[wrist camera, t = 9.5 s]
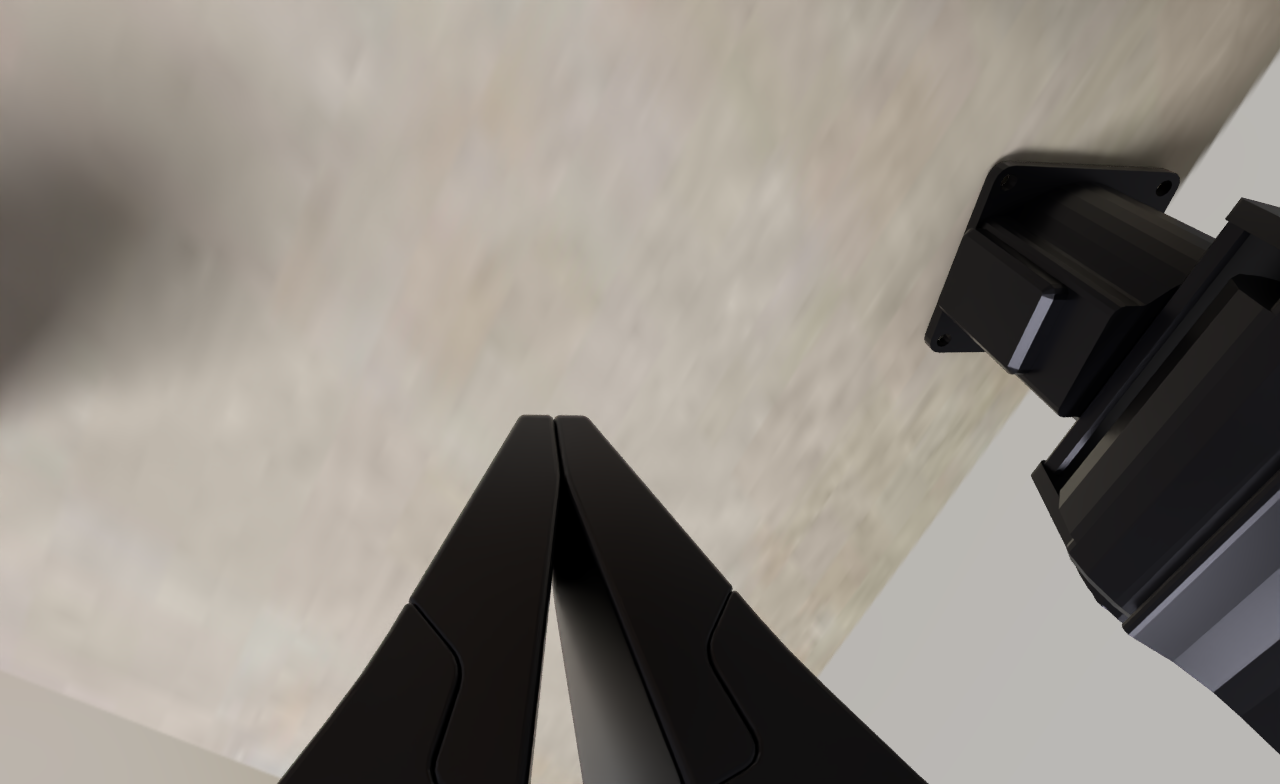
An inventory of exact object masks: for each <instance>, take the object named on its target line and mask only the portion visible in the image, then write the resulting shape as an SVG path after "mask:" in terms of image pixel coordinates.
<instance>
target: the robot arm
mask: <svg viewBox="0 0 1280 784" xmlns="http://www.w3.org/2000/svg"><path fill="white" fill-rule="evenodd" d="M1008 174H1009V178H1008V180H1007V181H1006V183H1004V184H1003V185H1001V182H1002V180H1003V179H1004V177H1006V176H1007V175H1008ZM1179 183H1180V177H1179V176H1178V174H1176V173H1174V172H1171V171H1169V170H1167V169H1164V168H1147V167H1126V166H1104V165H1083V164H1061V163H1040V162H1018V161H1005V162H1001V163H999V164H997V165H995V166H994V167H993V168H992V169H991V170H990V172H989V173H988V175H987V177H986V179H985V182H984V185H983V187H982V190H981V192H980V195H979V197H978V200H977V203H976V205H975V208H974V210H973V213H972V215H971V218H970V220H969V223H968V226H967V228H966V231H965V233H964V236H963V238H962V241H961V243H960V246H959V248H958V251H957V253H956V256H955V259H954V261H953V264H952V266H951V269H950V271H949V274H948V277H947V279H946V282H945V284H944V287H943V289H942V292H941V294H940V297H939V300H938V303H937V305H936V308H935V310H934V313H933V315H932V318H931V320H930V323H929V326H928V328H927V331H926V333H925V338H924V340H925V343H926V344H927V345H928V346H929V347H930V348H931V349H932V350H933V351H934V352H939V353H945V352H986V353H988V354H989V355H990V356H991V357H992V358H993V359H994V360H995V361H996V362H997V363H998V364H999V365H1000V366H1001V367H1002V368H1003V369H1004V370H1005V371H1006V372H1007V373H1009V374H1015V375H1016V376H1017V377H1018V378H1019V379H1020V380H1022V381H1023V382H1024V383H1025V384H1026V385H1027V386H1028V387H1029V388H1030V389H1031V390H1032V391H1033V392H1034V393H1035V394H1036V395H1037V396H1039V397H1040V398H1041V399H1042V400H1043V401H1044V402H1045V403H1046V404H1047V405H1048V406H1049V407H1050V408H1051V409H1052V410H1053V411H1054V412H1055V413H1056V414H1058V415H1059V416H1060V417H1073V418H1074V419H1075V420H1076V422H1075V423H1074V425H1073V426H1072V427H1071V429H1070V430H1069V431H1068V433H1067V434H1066V436H1065V437H1064V438H1063V439H1062V440H1061V442H1060V443H1059V444H1058V446H1057V447H1056V448H1055V450H1054V451H1053V452H1052V454H1051V455H1050V456H1049V458H1048V459H1047V460H1043V461H1041V462H1040V464H1039V465H1038V466H1037V468H1036V469H1035V470H1034V472H1033V473H1032V474H1031V477H1032V479H1033V481H1034V483H1035V485H1036V487H1037V489H1038V491H1039V493H1040V495H1041V497H1042V499H1043V501H1044V503H1045V505H1046V507H1047V509H1048V511H1049V513H1050V516H1051V517H1052V520H1053V522H1054V524H1055V526H1056V527H1057V530H1058V532H1059V534H1060V535H1061V538H1062V540H1063V542H1064V544H1065V546H1066V548H1067V551H1068V554H1069V557H1070V559H1071V561H1072V562H1073V563H1074V565H1075V566H1076V568H1077V570H1078V572H1079V574H1080V576H1081V577H1082V579H1083V581H1084V582H1085V584H1086V586H1087V587H1088V589H1089V590H1090V591H1091V592H1092V594H1093V596H1094V598H1095V599H1096V601H1097V602H1098V603H1099V604H1100V605H1101V606H1102V607H1104V608H1105V609H1107V610H1108V611H1109V612H1110V613H1112V614H1113V615H1114V616H1115V617H1116V618H1117V619H1118V620H1119V621H1121V622H1122V623H1123V624H1122V627H1123V629H1124V631H1125V632H1126V633H1128V635H1130V636H1131V637H1133V638H1135V639H1136V640H1138V641H1139V642H1141V643H1143V644H1144V645H1146V646H1148V647H1149V648H1151V649H1153V650H1154V651H1156V652H1158V653H1159V654H1161V655H1162V656H1164V657H1166V658H1168V659H1169V660H1171V661H1172V662H1174V663H1175V664H1176V665H1178V666H1179V667H1180V668H1182V669H1183V670H1184V671H1186V672H1187V673H1188V674H1190V675H1191V676H1192V677H1194V678H1195V679H1196V680H1197V681H1199V682H1200V683H1202V684H1203V685H1204V686H1205V687H1207V688H1208V689H1209V690H1211V691H1212V692H1213V693H1214V694H1216V695H1217V696H1218V697H1219V698H1220V699H1221V700H1222V701H1223V702H1224V703H1226V704H1227V705H1228V706H1229V707H1230V708H1231V709H1232V710H1234V711H1235V712H1236V713H1237V714H1238V715H1239V716H1240V717H1241V718H1242V719H1243V720H1244V721H1245V722H1246V723H1247V724H1249V725H1250V726H1251V727H1252V728H1253V729H1254V730H1255V731H1256V732H1257V733H1258V734H1259V735H1260V736H1261V737H1262V738H1263V739H1264V740H1265V741H1266V742H1267V743H1268V744H1269V745H1271V746H1272V747H1273V748H1274V749H1275V750H1276V751H1277V752H1278V753H1279V754H1280V207H1276V206H1272V205H1269V204H1265V203H1261V202H1257V201H1254V200H1250V199H1246V198H1241V199H1240V200H1239V201H1238V203H1237V204H1236V205H1235V207H1234V208H1233V209H1232V211H1231V212H1230V213H1229V215H1228V216H1227V217H1226V220H1227V221H1229V222H1228V223H1227V224H1226V226H1225V227H1224V228H1223V230H1222V231H1221V232H1220V234H1219V235H1218V236H1217V238H1216V239H1215V238H1213V237H1211V236H1209V235H1207V234H1205V233H1203V232H1201V231H1199V230H1197V229H1195V228H1193V227H1191V226H1189V225H1187V224H1184V223H1183V222H1180V221H1178V220H1177V219H1174V218H1172V217H1170V216H1168V215H1166V214H1164V212H1165V210H1166V208H1167V206H1168V205H1169V203H1170V201H1171V199H1172V197H1173V196H1174V194H1175V192H1176V190H1177V188H1178V186H1179ZM1160 184H1161V185H1160ZM1159 185H1160V186H1159ZM1158 186H1159V188H1158V189H1157V187H1158ZM944 334H945V335H944ZM942 335H944V336H943V337H942V338H941V339H940V340H938V338H939V337H940V336H942ZM551 584H552V586H553V594H554V602H555V609H556V615H557V621H558V628H559V634H560V640H561V647H562V653H563V659H564V666H565V672H566V678H567V685H568V691H569V697H570V704H571V710H572V716H573V723H574V729H575V735H576V742H577V748H578V754H579V761H580V767H581V773H582V779H583V784H928V783H927V782H926V781H925V780H924V779H923V778H922V777H920V776H919V775H918V774H917V773H916V772H915V771H914V770H913V769H912V768H911V767H910V766H909V765H908V764H907V763H906V762H905V761H903V760H902V759H901V758H900V757H899V756H898V755H897V754H896V753H895V752H894V751H893V750H892V749H891V748H890V747H889V746H888V745H887V744H885V742H884V741H882V740H881V739H880V738H879V737H878V736H877V735H876V734H875V733H874V732H873V731H872V730H871V729H870V728H869V727H868V726H867V725H866V724H865V723H863V721H861V720H860V719H859V718H858V717H857V716H856V715H855V714H854V713H853V712H852V711H851V710H850V709H849V708H848V707H847V706H846V705H845V704H844V703H843V702H841V701H840V700H839V699H838V698H837V697H836V696H835V695H834V694H833V693H832V692H831V691H830V690H829V689H828V688H827V687H826V686H825V685H823V683H822V682H821V681H820V680H819V679H818V678H817V677H816V676H815V675H814V674H813V673H812V672H811V671H810V670H809V669H808V668H807V667H806V666H805V665H804V664H803V663H802V662H801V661H800V660H799V659H798V658H797V657H796V656H795V655H794V654H793V653H792V652H791V651H790V650H789V649H788V648H787V647H786V646H785V645H784V644H783V643H782V642H781V641H780V640H779V639H778V637H777V636H776V635H775V634H774V633H773V632H772V631H771V630H770V629H769V627H768V626H767V625H766V624H765V623H764V622H763V621H762V620H761V619H760V618H759V616H758V615H757V614H756V613H755V612H754V611H753V610H752V608H751V607H750V606H749V605H748V604H747V603H746V601H745V600H744V599H743V598H742V597H741V596H740V594H739V593H738V592H737V591H732V589H733V588H732V585H731V584H730V583H729V582H728V581H727V580H726V578H725V577H724V576H723V575H722V574H721V573H720V571H719V570H718V569H717V568H716V567H715V566H714V564H713V563H712V562H711V561H710V560H709V558H708V557H707V556H706V555H705V554H704V553H703V551H702V550H701V549H700V548H699V547H698V546H697V544H696V543H695V542H694V541H693V540H692V539H691V537H690V536H689V535H688V534H687V533H686V532H685V530H684V529H683V528H682V527H681V526H680V525H679V523H678V522H677V521H676V520H675V519H674V518H673V516H672V515H671V514H670V513H669V512H668V511H667V509H666V508H665V507H664V506H663V505H662V504H661V502H660V501H659V500H658V499H657V498H656V497H655V495H654V494H653V493H652V492H651V491H650V490H649V488H648V487H647V486H646V485H645V484H644V482H643V481H642V480H641V479H640V478H639V477H638V475H637V474H636V473H635V472H634V471H633V470H632V468H631V467H630V466H629V465H628V464H627V463H626V461H625V460H624V459H623V458H622V457H621V456H620V454H619V453H618V452H617V451H616V450H615V449H614V447H613V446H612V445H611V444H610V443H609V442H608V440H607V439H606V438H605V437H604V436H603V435H602V433H601V432H600V431H599V430H598V429H597V428H596V426H595V425H594V424H593V423H592V422H591V421H590V419H589V418H587V417H586V416H578V415H558V416H556V417H555V419H554V420H553V418H552V417H551V416H550V415H522V416H520V417H519V418H518V420H517V421H516V423H515V425H514V426H513V428H512V430H511V431H510V433H509V435H508V436H507V438H506V440H505V441H504V443H503V445H502V446H501V448H500V450H499V451H498V453H497V454H496V456H495V458H494V459H493V461H492V463H491V464H490V466H489V468H488V469H487V471H486V473H485V474H484V476H483V478H482V479H481V481H480V483H479V484H478V486H477V488H476V489H475V491H474V493H473V494H472V496H471V497H470V499H469V501H468V502H467V504H466V506H465V507H464V509H463V511H462V512H461V514H460V516H459V517H458V519H457V521H456V522H455V524H454V526H453V527H452V529H451V531H450V532H449V534H448V536H447V537H446V539H445V541H444V542H443V544H442V545H441V547H440V549H439V550H438V552H437V554H436V555H435V557H434V559H433V560H432V562H431V564H430V565H429V567H428V569H427V570H426V572H425V574H424V575H423V577H422V579H421V580H420V582H419V584H418V585H417V587H416V588H415V590H414V592H413V593H412V595H411V597H410V599H409V604H406V605H405V606H404V608H403V609H402V611H401V613H400V614H399V616H398V618H397V619H396V621H395V623H394V624H393V626H392V628H391V629H390V631H389V632H388V634H387V636H386V637H385V639H384V640H383V642H382V643H381V645H380V646H379V648H378V649H377V651H376V652H375V654H374V655H373V657H372V658H371V660H370V662H369V663H368V665H367V666H366V668H365V669H364V671H363V672H362V674H361V675H360V677H359V678H358V679H357V681H356V682H355V683H354V685H353V686H352V687H351V689H350V690H349V691H348V693H347V694H346V695H345V697H344V698H343V699H342V701H341V702H340V703H339V705H338V706H337V707H336V709H335V710H334V711H333V713H332V714H331V715H330V717H329V718H328V720H327V721H326V722H325V723H324V725H323V726H322V727H321V729H320V730H319V731H318V732H317V734H316V735H315V736H314V737H313V739H312V740H311V741H310V742H309V744H308V745H307V746H306V748H305V749H304V750H303V751H302V753H301V754H300V755H299V756H298V758H297V759H296V760H295V762H294V763H293V764H292V765H291V767H290V768H289V769H288V770H287V772H286V773H285V774H284V775H283V777H282V778H281V779H280V781H279V782H278V783H277V784H531V775H532V765H533V756H534V746H535V737H536V727H537V718H538V708H539V699H540V689H541V680H542V670H543V661H544V651H545V642H546V632H547V623H548V613H549V604H550V594H551Z"/></svg>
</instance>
